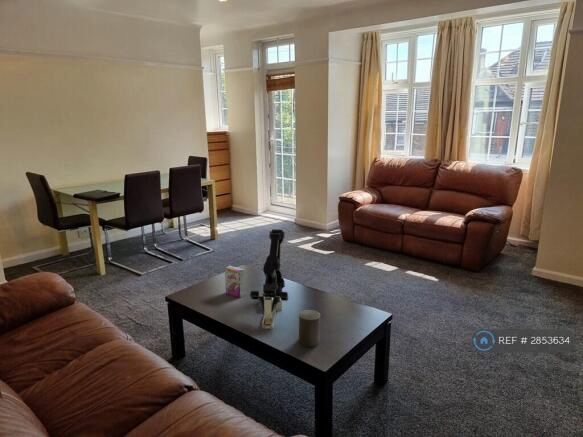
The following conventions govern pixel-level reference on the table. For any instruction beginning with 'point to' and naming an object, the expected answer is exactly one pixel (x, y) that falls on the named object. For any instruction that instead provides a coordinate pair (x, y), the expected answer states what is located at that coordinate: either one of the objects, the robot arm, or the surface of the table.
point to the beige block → (268, 310)
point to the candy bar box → (235, 281)
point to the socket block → (279, 304)
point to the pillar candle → (309, 328)
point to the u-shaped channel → (269, 326)
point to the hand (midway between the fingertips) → (267, 312)
